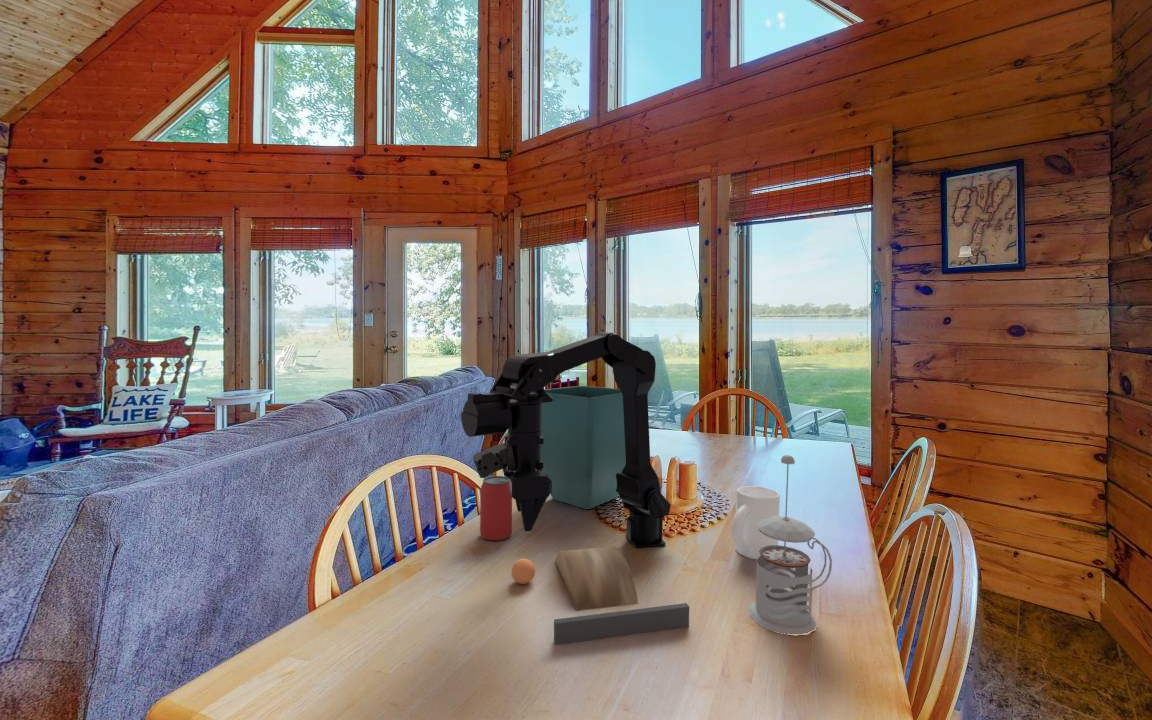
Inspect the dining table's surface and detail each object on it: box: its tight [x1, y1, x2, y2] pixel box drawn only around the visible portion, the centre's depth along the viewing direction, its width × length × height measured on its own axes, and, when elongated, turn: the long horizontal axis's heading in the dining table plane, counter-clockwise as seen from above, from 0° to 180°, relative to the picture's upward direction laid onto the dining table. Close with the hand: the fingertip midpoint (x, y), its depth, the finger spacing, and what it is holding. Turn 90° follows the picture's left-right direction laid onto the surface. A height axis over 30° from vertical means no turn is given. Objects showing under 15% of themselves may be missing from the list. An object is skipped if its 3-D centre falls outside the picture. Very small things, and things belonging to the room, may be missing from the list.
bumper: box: [553, 602, 690, 645], centre depth 72 cm, size 20×1×3 cm, turn 104°
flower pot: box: [531, 385, 626, 510], centre depth 129 cm, size 20×20×28 cm
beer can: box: [479, 475, 513, 542], centre depth 105 cm, size 7×7×12 cm
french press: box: [748, 454, 833, 634], centre depth 76 cm, size 10×12×25 cm
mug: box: [731, 485, 781, 561], centre depth 98 cm, size 8×12×12 cm
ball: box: [511, 558, 536, 585], centre depth 86 cm, size 4×4×4 cm
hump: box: [554, 546, 639, 612], centre depth 87 cm, size 10×22×22 cm, turn 14°
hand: (524, 520), depth 85 cm, fingers open, 9 cm apart
